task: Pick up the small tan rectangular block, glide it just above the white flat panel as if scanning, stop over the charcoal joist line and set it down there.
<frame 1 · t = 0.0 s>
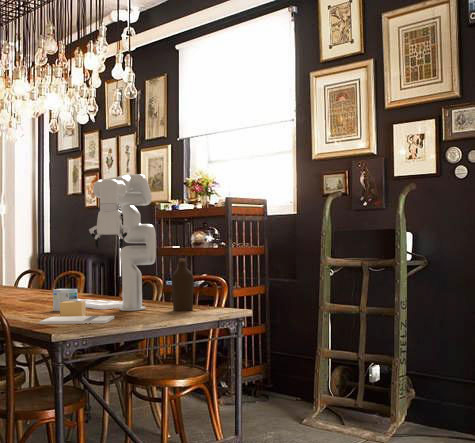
hand: (109, 248, 274), 31 cm above the table, tool pointing down, fingers open, 9 cm apart
white flat panel: (77, 321, 276), on the table
tan rectangular block: (73, 317, 293), on the table
holder: (95, 306, 344), on the table
light bulb box: (65, 311, 320), on the table
olive oil: (183, 310, 312), on the table
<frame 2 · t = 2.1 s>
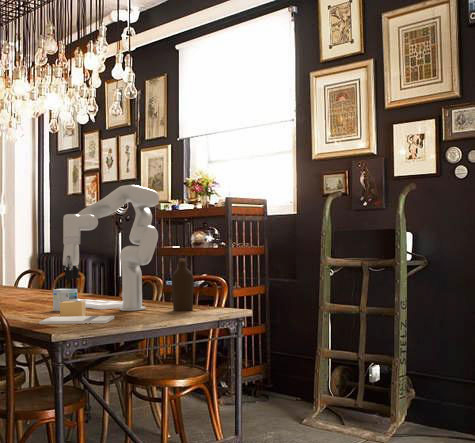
hand: (71, 278, 293), 17 cm above the table, tool pointing down, fingers open, 9 cm apart
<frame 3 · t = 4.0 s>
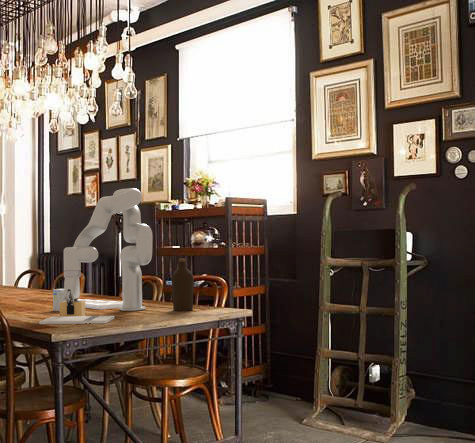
hand: (72, 313, 293), 2 cm above the table, tool pointing down, fingers closed on tan rectangular block, 6 cm apart
tan rectangular block: (72, 316, 293), on the table, touching gripper
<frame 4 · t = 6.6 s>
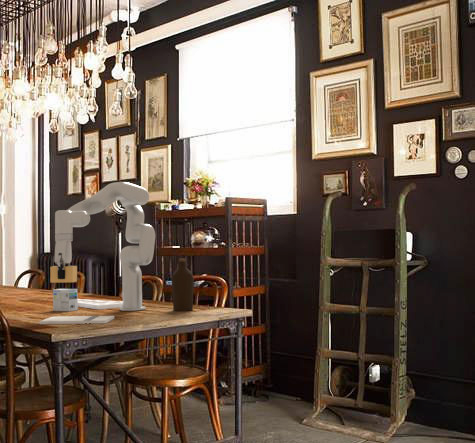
hand: (63, 278, 285), 18 cm above the table, tool pointing down, fingers closed on tan rectangular block, 6 cm apart
tan rectangular block: (63, 282, 285), point 17 cm above the table, touching gripper
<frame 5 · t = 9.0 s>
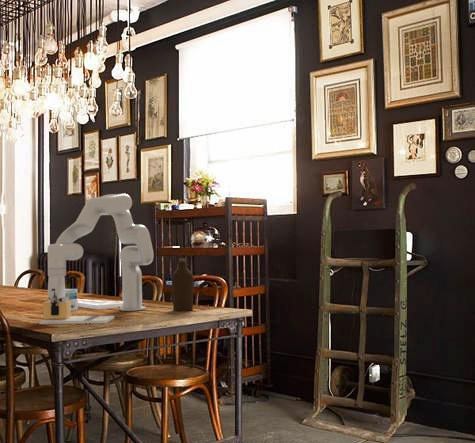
hand: (57, 313, 277), 3 cm above the table, tool pointing down, fingers closed on tan rectangular block, 6 cm apart
tan rectangular block: (57, 317, 277), point 2 cm above the table, touching gripper
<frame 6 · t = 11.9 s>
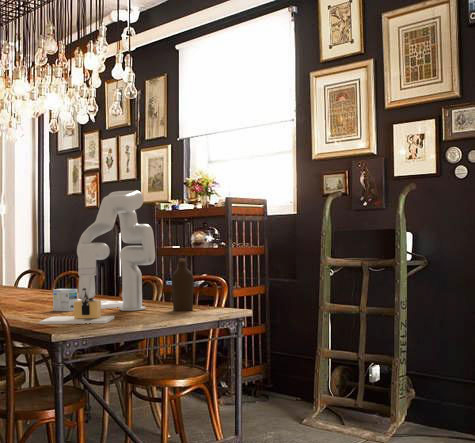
hand: (87, 313, 276), 3 cm above the table, tool pointing down, fingers closed on tan rectangular block, 6 cm apart
tan rectangular block: (87, 317, 276), point 2 cm above the table, touching gripper
when the fingers open (3 cm above the table, at t = 14.2 s): tan rectangular block stays where it is, resting on white flat panel.
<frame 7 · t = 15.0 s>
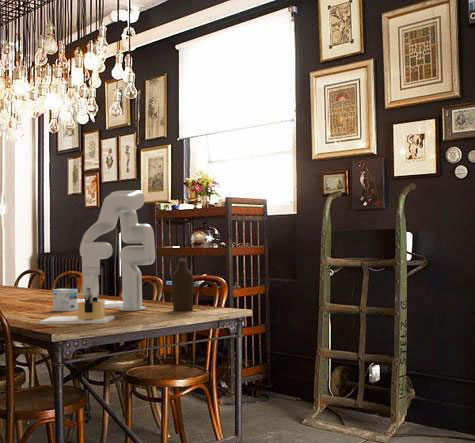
hand: (91, 311, 277), 4 cm above the table, tool pointing down, fingers open, 9 cm apart
tan rectangular block: (91, 318, 276), point 1 cm above the table, touching white flat panel
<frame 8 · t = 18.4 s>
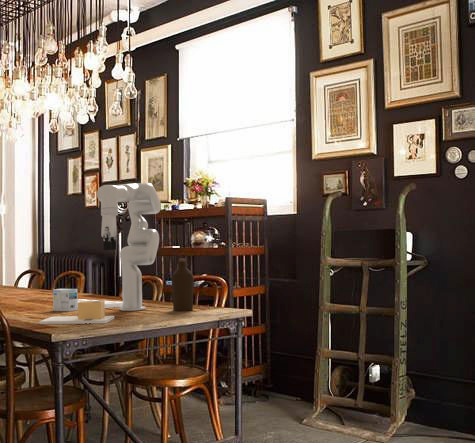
hand: (110, 249, 291), 30 cm above the table, tool pointing down, fingers open, 9 cm apart
at the end: tan rectangular block 0.1 cm from the target spot on the white flat panel, point 1.3 cm above the white flat panel's base; tan rectangular block tilted 0°; the gripper is holding nothing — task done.
